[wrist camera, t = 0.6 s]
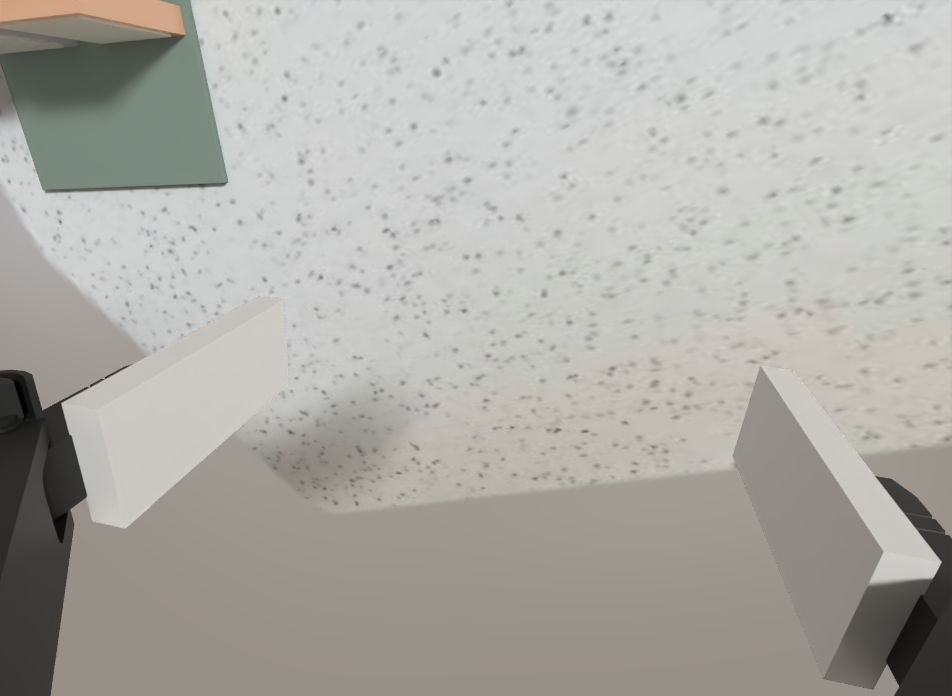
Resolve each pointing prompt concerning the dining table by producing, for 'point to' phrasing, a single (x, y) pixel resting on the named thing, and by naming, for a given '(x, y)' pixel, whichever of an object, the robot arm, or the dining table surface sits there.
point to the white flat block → (30, 41)
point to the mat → (118, 112)
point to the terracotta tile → (93, 19)
